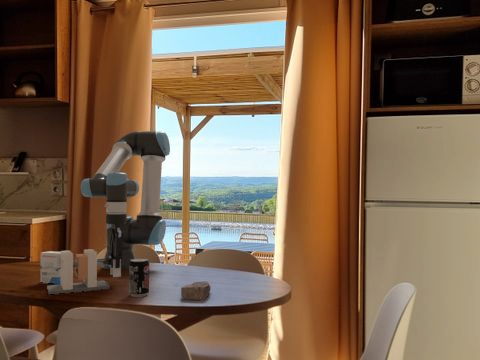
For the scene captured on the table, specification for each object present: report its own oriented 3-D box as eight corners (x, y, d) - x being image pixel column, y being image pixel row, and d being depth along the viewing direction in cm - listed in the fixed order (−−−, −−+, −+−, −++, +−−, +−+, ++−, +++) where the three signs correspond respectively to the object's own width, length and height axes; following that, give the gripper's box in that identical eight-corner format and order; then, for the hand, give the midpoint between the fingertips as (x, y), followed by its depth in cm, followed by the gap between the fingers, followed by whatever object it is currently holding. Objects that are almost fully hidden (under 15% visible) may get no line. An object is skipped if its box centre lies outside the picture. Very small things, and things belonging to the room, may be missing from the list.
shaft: (119, 265, 162) (119, 254, 162) (122, 266, 158) (122, 256, 158) (66, 269, 153) (66, 258, 153) (67, 271, 149) (67, 260, 149)
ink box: (66, 282, 164) (67, 251, 164) (57, 284, 159) (57, 253, 160) (49, 280, 167) (49, 250, 167) (39, 283, 162) (39, 252, 163)
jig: (104, 283, 162) (104, 248, 162) (109, 288, 153) (109, 251, 153) (46, 289, 152) (47, 251, 152) (49, 295, 143) (49, 255, 144)
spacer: (83, 275, 157) (84, 253, 157) (87, 279, 150) (87, 256, 150) (75, 275, 156) (75, 254, 156) (78, 280, 149) (78, 257, 149)
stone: (186, 292, 149) (186, 278, 149) (211, 293, 148) (212, 279, 148) (178, 300, 137) (179, 286, 137) (206, 301, 137) (206, 287, 137)
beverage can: (148, 292, 148) (149, 257, 148) (149, 297, 141) (149, 261, 142) (129, 293, 146) (129, 258, 147) (128, 298, 140) (128, 261, 140)
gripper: (101, 212, 165) (101, 272, 165) (110, 214, 150) (109, 280, 150) (121, 212, 169) (120, 270, 168) (131, 214, 154) (131, 278, 153)
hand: (115, 275), depth 159 cm, fingers closed on shaft, 4 cm apart
